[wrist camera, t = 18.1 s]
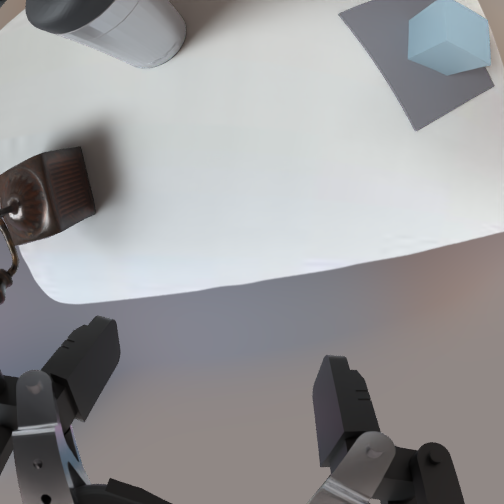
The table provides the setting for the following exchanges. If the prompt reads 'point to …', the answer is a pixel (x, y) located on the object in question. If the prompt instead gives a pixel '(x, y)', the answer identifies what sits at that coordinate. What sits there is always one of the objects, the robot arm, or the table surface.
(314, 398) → the robot arm
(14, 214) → the pepper mill
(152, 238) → the table surface
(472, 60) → the light blue tall box
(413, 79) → the mat
